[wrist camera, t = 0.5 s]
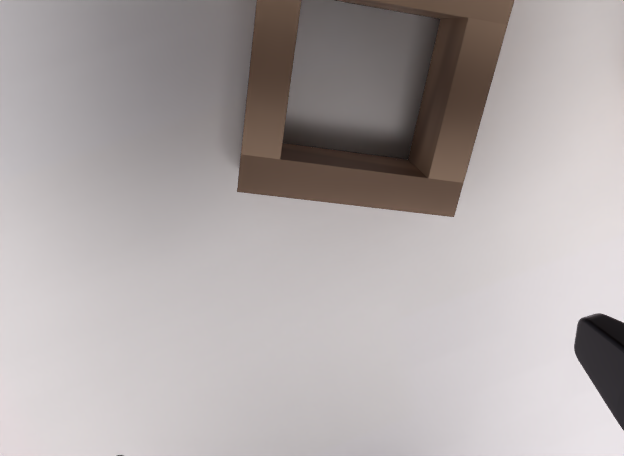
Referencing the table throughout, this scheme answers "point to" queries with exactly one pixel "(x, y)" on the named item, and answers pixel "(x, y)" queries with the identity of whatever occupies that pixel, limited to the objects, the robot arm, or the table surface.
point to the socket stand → (363, 167)
